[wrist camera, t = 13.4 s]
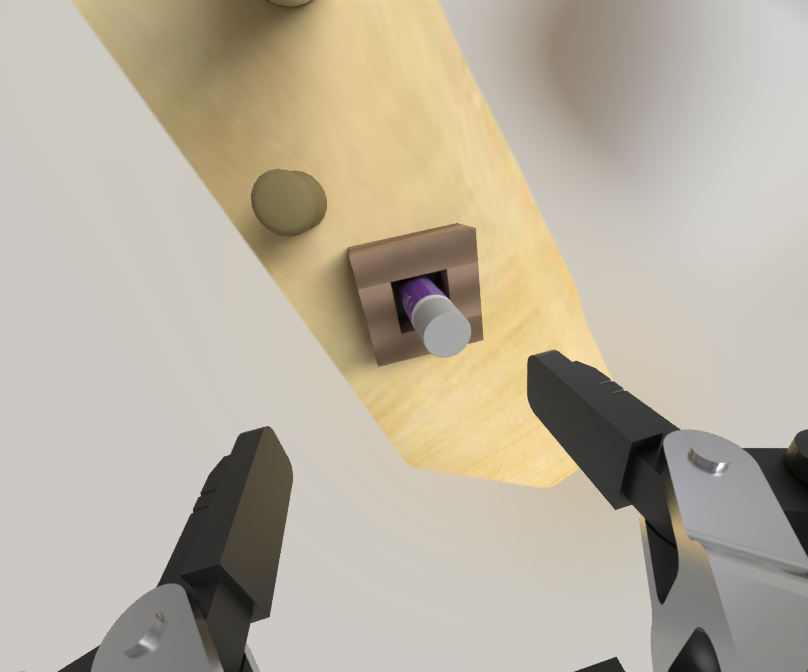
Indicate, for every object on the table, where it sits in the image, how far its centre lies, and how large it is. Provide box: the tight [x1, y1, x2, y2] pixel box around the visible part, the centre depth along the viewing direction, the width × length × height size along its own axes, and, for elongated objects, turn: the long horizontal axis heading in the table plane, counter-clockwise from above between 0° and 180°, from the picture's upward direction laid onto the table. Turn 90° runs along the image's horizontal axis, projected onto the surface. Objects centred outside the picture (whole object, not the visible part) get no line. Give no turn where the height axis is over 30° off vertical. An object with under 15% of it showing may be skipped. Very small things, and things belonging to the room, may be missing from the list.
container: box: [396, 274, 471, 357], centre depth 33 cm, size 5×5×15 cm
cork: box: [251, 169, 327, 236], centre depth 29 cm, size 6×6×11 cm
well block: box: [348, 223, 483, 367], centre depth 38 cm, size 14×14×6 cm
